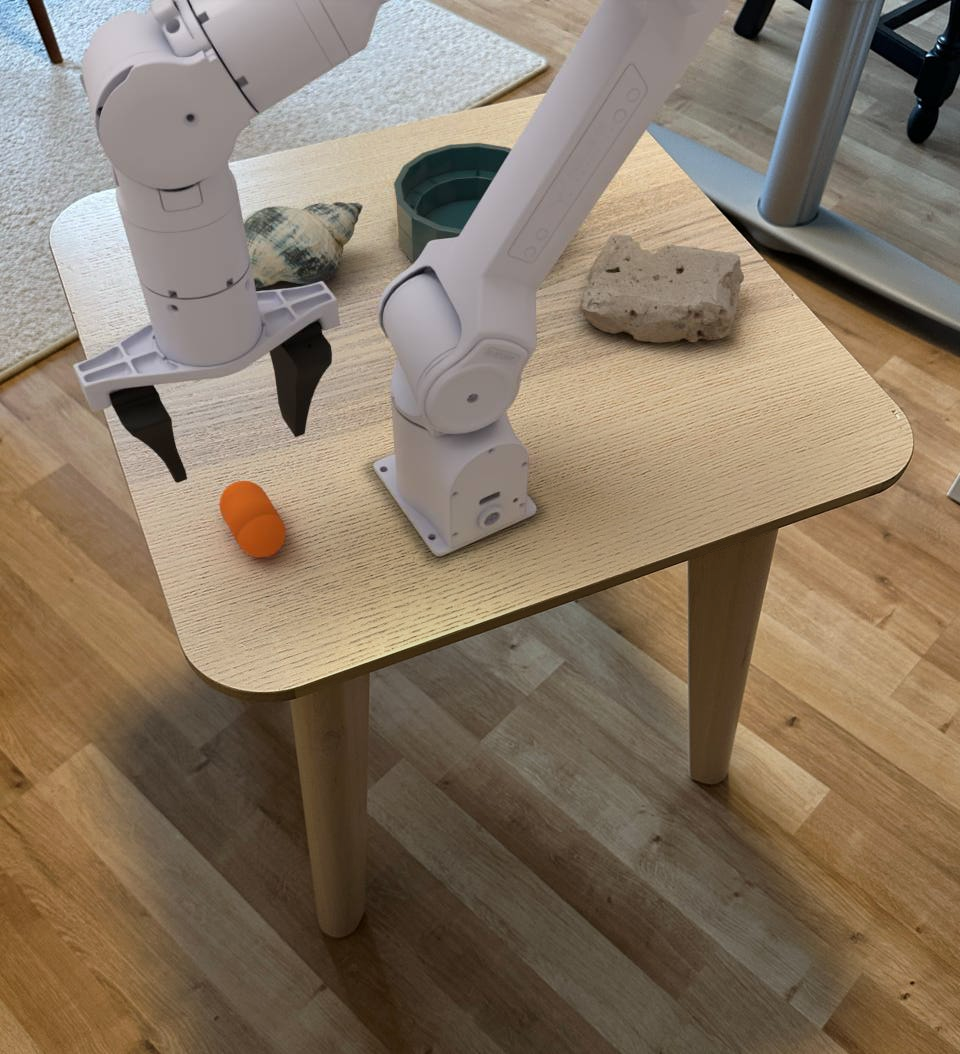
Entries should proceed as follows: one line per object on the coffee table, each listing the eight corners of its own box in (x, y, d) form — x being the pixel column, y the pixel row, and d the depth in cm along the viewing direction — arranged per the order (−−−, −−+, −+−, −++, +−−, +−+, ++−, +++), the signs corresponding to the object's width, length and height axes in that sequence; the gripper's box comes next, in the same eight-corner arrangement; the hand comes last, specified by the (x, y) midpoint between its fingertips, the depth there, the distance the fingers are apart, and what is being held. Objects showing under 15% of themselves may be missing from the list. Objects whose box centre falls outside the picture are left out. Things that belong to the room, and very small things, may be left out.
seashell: (227, 275, 92) (367, 273, 92) (209, 297, 86) (361, 294, 86) (218, 198, 90) (363, 196, 90) (199, 214, 83) (356, 212, 83)
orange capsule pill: (296, 555, 71) (290, 524, 69) (251, 574, 70) (243, 543, 68) (260, 495, 74) (253, 464, 72) (216, 513, 73) (208, 481, 71)
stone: (571, 265, 91) (574, 349, 85) (585, 208, 86) (588, 293, 80) (725, 283, 92) (738, 367, 86) (746, 228, 87) (762, 312, 81)
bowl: (578, 254, 92) (584, 204, 88) (444, 303, 88) (443, 252, 84) (499, 178, 100) (500, 128, 96) (371, 219, 95) (367, 169, 91)
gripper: (291, 186, 60) (316, 369, 70) (30, 265, 55) (99, 448, 66) (347, 254, 56) (364, 436, 67) (72, 344, 51) (137, 526, 62)
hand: (236, 447), depth 66 cm, fingers open, 7 cm apart
